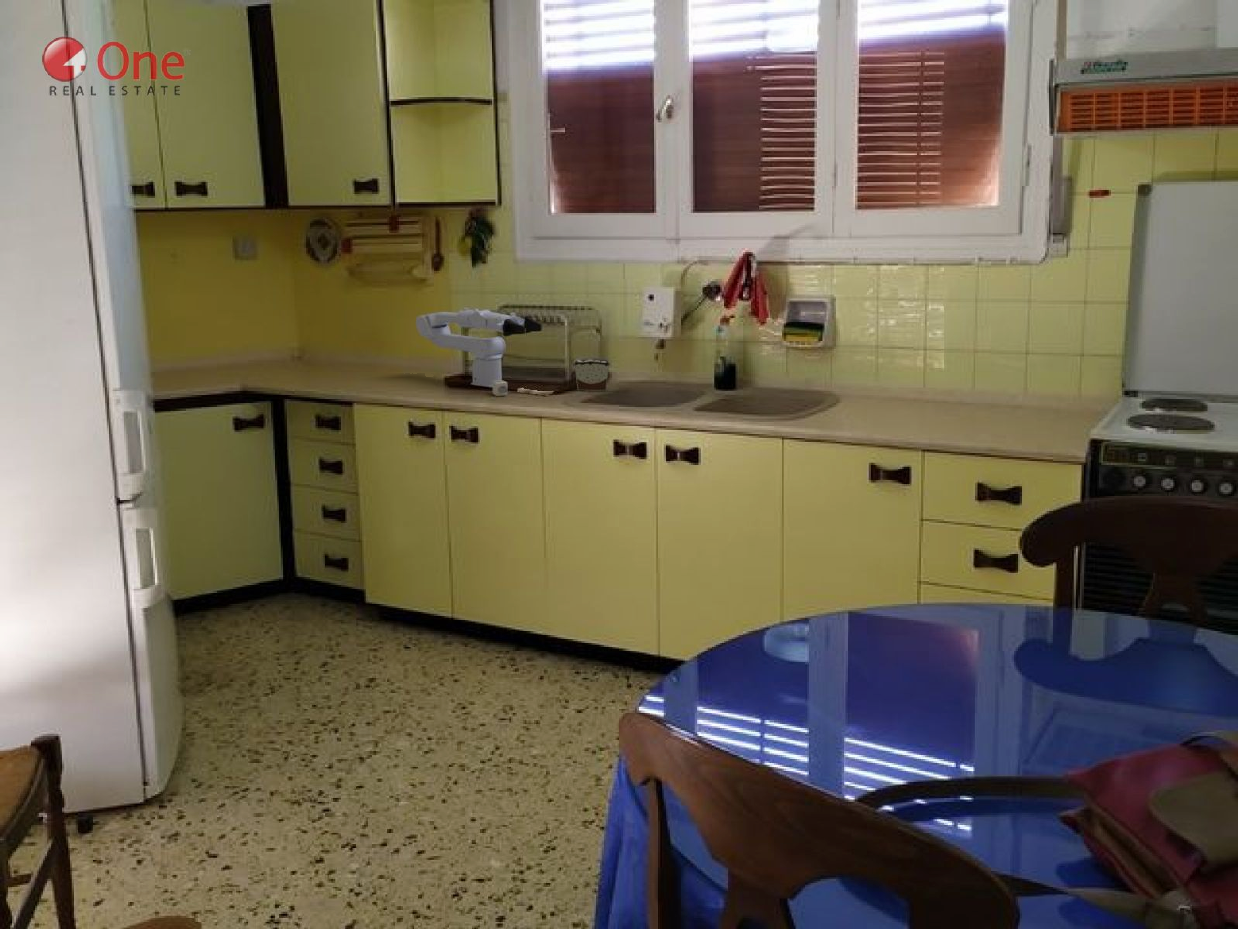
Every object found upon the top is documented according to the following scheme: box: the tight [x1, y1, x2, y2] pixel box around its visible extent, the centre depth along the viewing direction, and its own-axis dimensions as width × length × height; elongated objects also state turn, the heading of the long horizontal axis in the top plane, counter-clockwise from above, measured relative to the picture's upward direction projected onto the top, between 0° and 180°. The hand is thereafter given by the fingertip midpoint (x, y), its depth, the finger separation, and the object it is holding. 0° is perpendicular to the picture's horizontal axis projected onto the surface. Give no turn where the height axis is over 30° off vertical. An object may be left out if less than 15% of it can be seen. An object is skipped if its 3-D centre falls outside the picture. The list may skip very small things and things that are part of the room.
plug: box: [492, 379, 509, 397], centre depth 375 cm, size 8×4×4 cm, turn 24°
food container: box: [572, 356, 611, 392], centre depth 382 cm, size 12×6×10 cm, turn 84°
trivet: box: [517, 387, 554, 397], centre depth 380 cm, size 12×12×1 cm
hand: (532, 329), depth 373 cm, fingers open, 7 cm apart
